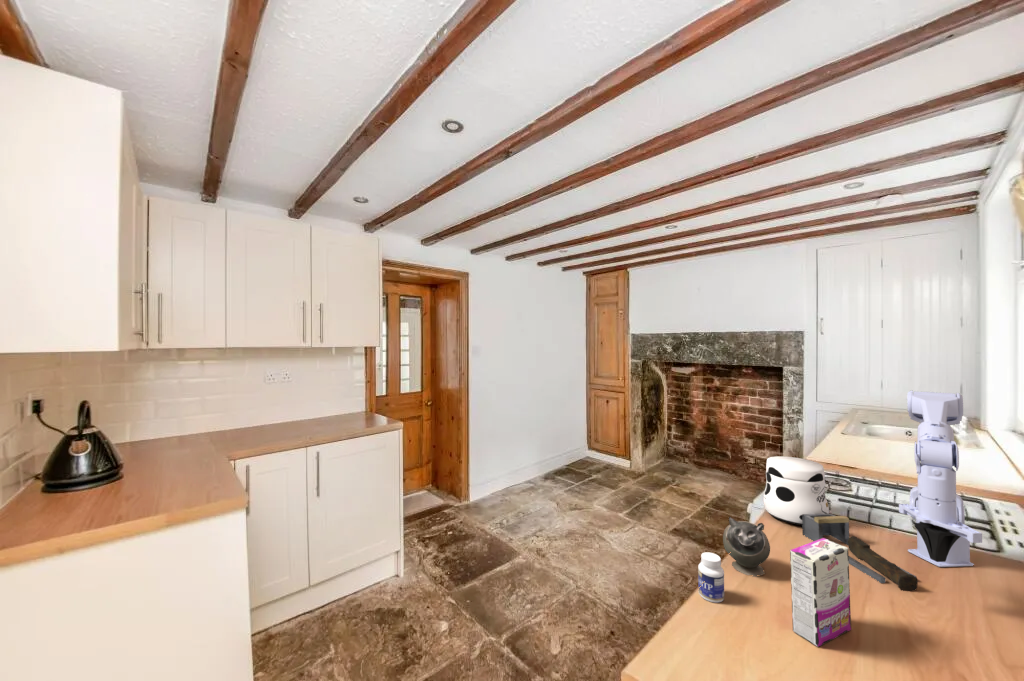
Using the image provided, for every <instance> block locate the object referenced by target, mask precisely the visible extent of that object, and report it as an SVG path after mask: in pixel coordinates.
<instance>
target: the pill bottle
mask: <svg viewBox="0 0 1024 681" xmlns="http://www.w3.org/2000/svg"><path fill="white" fill-rule="evenodd" d="M700 558H701V559H700V562H699V564H698V565H697V566H698V569H697V572H698V573H697V574H698V575H697V577H698V580H697V583H698V584H697V585H698V586H697V587H698V588H699V587H700V586H701V587H700V588H699V590H698V594H699V596H700V597H701V598H702V599H704V600H705V601H707V602H711V603H721V602H723V601H724V600H725V571H724V569H723V567H722V566H721V565H722V558H721V557H720V556H719V555H718V554H717V553H713V552H707V551H705V552H702V553H701V556H700ZM704 581H705V582H704ZM703 582H704V583H703ZM702 583H703V584H702ZM698 588H697V589H698Z"/></svg>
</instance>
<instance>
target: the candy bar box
mask: <svg viewBox="0 0 1024 681" xmlns="http://www.w3.org/2000/svg"><path fill="white" fill-rule="evenodd" d="M848 556H849V547H848V546H846V545H845V546H844V545H842V544H840V543H838V542H836V541H835V542H834V541H833V540H830V539H827V538H825V537H823V538H822V539H819V540H816V541H811V542H808V543H806V544H803V545H800V546H797V547H794V548H792V549H790V550H789V557H790V558H789V559H790V560H789V561H790V584H791V585H790V586H791V590H790V591H791V612H792V613H791V617H792V631H793V633H795V634H796V635H797V636H799V637H800V638H802V639H804V640H806V641H808V642H809V643H810V644H812V645H813V646H816V648H817V647H821V646H823V645H825V644H827V643H829V642H830V641H832V640H834V639H836V638H838V637H840V636H841V635H843V634H846V633H847V632H850V631H851V630H852V618H851V616H852V614H851V592H850V591H851V590H850V587H851V586H850V585H851V584H850V564H849V557H848Z"/></svg>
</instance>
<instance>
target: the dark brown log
mask: <svg viewBox="0 0 1024 681" xmlns="http://www.w3.org/2000/svg"><path fill="white" fill-rule="evenodd" d="M847 548H848V551H850V553H851V554H852V555H854V557H856V559H858V560H859V559H860V560H859V561H863V560H864V561H863V562H866V563H867V564H868V565H870V566H871V567H872V568H874V569H875V570H877V571H878V572H879V573H881V574H882V576H885V578H887V579H889V580H890V581H892V582H893V583H894V584H896V585H897V587H898V588H899V590H900V591H902V590H903V592H904V591H906V592H913V591H916V590H917V588H918V583H919V580H918V577H917V576H916V575H915V576H916V577H917V578H916V577H915V576H913V575H914V574H913V575H911V574H912V573H911V574H908V573H906V572H904V571H903V570H902V569H903V568H902V569H900V568H901V567H900V566H898V565H896V563H893V562H891V561H889V560H887V559H886V558H884V557H883V556H881V555H880V554H879V553H877V552H875V551H874V550H873V549H872V548H871V545H870V544H868V543H867V542H865V541H864V540H862V539H861V538H858V537H857V536H854V535H852V536H849V539H848V545H847ZM897 566H898V567H897ZM899 567H900V568H899Z"/></svg>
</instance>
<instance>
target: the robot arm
mask: <svg viewBox="0 0 1024 681" xmlns="http://www.w3.org/2000/svg"><path fill="white" fill-rule="evenodd" d="M906 395H907V398H906V400H907V401H906V402H907V403H906V404H907V412H908V416H909V417H910V420H913V421H915V422H917V423H919V424H918V426H917V438H916V439H917V440H916V441H915V442H914V446H913V447H914V448H913V449H914V450H913V452H914V463H915V466H916V467H915V468H916V474H917V485H916V486H914V487H912V488H911V489H910V492H909V493H910V494H909V504H908V503H899V504H898V513H900V514H903V515H908V516H910V517H911V518H912V519H913V520H915V523H914V528H915V530H916V543H917V545H916V546H917V547H916V548H910V549H909V548H908V549H907V552H908V553H910V554H912V555H915V556H917V557H918V558H921V559H922V560H924V561H927V562H929V563H930V564H932V565H934V566H936V567H939V568H949V567H950V568H952V567H954V568H955V567H974V566H975V564H974V563H973V562H971V554H970V553H971V548H970V546H971V545H970V543H972V544H979V543H983V533H982V532H981V531H978V530H976V529H974V528H972V527H970V526H968V525H967V524H966V522H965V520H966V519H965V518H966V517H965V506H964V500H963V499H962V497H961V495H959V494H957V471H958V470H959V466H960V454H959V452H960V451H959V448H958V445H957V442H956V441H955V436H954V435H955V434H954V429H953V428H952V427H951V426H955V425H959V424H960V423H961V421H962V420H963V416H964V398H963V397H964V396H963V394H961V393H960V392H955V393H954V392H941V391H940V392H938V391H936V392H935V391H919V390H914V391H913V390H912V389H911V390H909V391H907V394H906ZM953 467H954V468H953ZM973 565H974V566H973Z"/></svg>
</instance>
